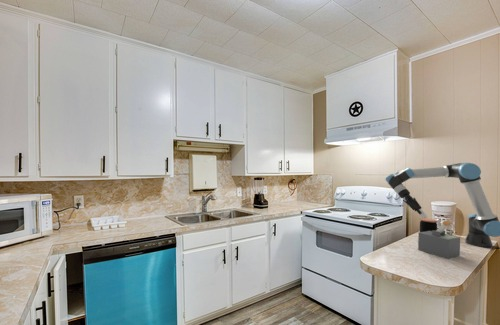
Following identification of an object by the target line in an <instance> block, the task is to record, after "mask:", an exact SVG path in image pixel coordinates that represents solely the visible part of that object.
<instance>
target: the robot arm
mask: <svg viewBox="0 0 500 325" xmlns="http://www.w3.org/2000/svg"><path fill="white" fill-rule="evenodd" d="M481 174H482V170H481V168H480V166H479V165H477V163H476V164H475V163H471V162H460V163H458V162H457V163H453V164H448V165H447V164H446V165H443V166H440V167H439V166H438V167H426V168H415V169H413V168H412V169H411V168H410V167H407V168H405V169H401V170H396V171H395V173H394V174H393V173H391V174H389V175H387V176H386V177H385V181H386V182H387V184H388V185H389V186H390V187H391V189H392V190H393V191H394V192H395V193H396V194H397V195H398V197H399V198H400V199H402V201H403V203H405V204H406V205H407V206H408V207H409V208H410V209H412V210H413V211H414V212H416V213H417V214H418V215H419V216H420V217H421V218H423V219H424V218H427V217H428V215H427V214H426V213H425V212H424V211H423V210H422V206H421V205H420V203H419V202H418V201H417V199H416V198H415V197H412V196H411V195H410V194H411V192H410V191H409V189H407V187H406V186H405V185H404V184H403V183H404V182H407V181H408V180H410V179H422V178H424V179H425V178H427V179H428V178H439V177H440V178H441V177H442V178H443V177H445V178H455V179H458V180H459V182H460V184H462V185H464V187H465V190H466V192H467V195H468V197H469V200H470V201H471V204H472V206H473V208H474V211H475V213H471V214H469V215H468V233H467V235H466V237H465V239H464V240H465V242H464V243H466V244H468V245H471V246H475V247H480V248H493V241H492V240H491V237H494V238H497V237H500V220H499V218H498V216H497V214H495V213H494V212H493V211H492V208H491V205H490V203H489V202H488V199H487V196H486V195H485V191H484V190H483V187H482V185H481V183H480V181H481Z"/></svg>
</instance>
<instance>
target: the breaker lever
mask: <svg viewBox="0 0 500 325" xmlns="http://www.w3.org/2000/svg"><path fill="white" fill-rule="evenodd" d="M452 224H453V223H452V222H451V221H450V220H444V221H443V222H442V223H441V225H440V226H439V227H437V230H436V231H438V232H440V234H442V233H443V231H446V229H447V228H448V227H449V226H451V225H452Z"/></svg>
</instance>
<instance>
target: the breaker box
mask: <svg viewBox="0 0 500 325" xmlns="http://www.w3.org/2000/svg"><path fill="white" fill-rule="evenodd" d="M417 237H418V238H417V239H418V241H417V247H418V248H417V250H418V251H419V252H420V251H421V252H425V253H428V254H430V255H433V256H438V257H440V258H443V259H447V260H450V259H455V258H458V257H460V256H461V251H460V250H461V237H459V236H454V235H449V234H447V233H446V230H444V231H443V233H442V234H440V232H438V231H434V230H432V231H425V232H420V231H419V232H418V236H417Z"/></svg>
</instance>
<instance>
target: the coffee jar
mask: <svg viewBox="0 0 500 325" xmlns="http://www.w3.org/2000/svg"><path fill="white" fill-rule="evenodd" d="M437 229H438V220H437V219H433V218H427V217H426V218H424V219H423V218H422V217H421V218H420V219H419V232H425V231H432V230H434V231H436V230H437Z"/></svg>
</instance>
